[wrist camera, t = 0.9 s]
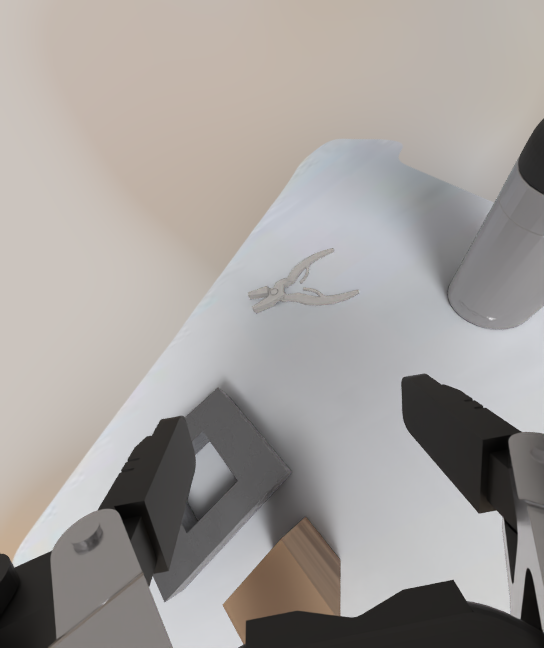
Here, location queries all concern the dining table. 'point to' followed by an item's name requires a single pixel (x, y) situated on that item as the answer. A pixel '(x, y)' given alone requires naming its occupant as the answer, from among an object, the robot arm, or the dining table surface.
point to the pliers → (279, 295)
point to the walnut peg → (289, 580)
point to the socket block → (238, 503)
